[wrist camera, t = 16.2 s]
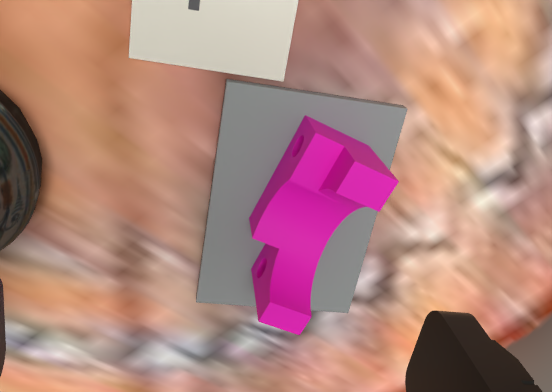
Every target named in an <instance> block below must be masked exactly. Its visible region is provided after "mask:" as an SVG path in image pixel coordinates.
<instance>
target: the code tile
mask: <svg viewBox="0 0 552 392" xmlns="http://www.w3.org/2000/svg"><path fill="white" fill-rule="evenodd" d="M297 5H298V0H132V12H131V28H130V45H129V58H133V59H140V60H146V61H153V62H159V63H166V64H172V65H179V66H185V67H192V68H198V69H205V70H211V71H218V72H224V73H231V74H237V75H244V76H250V77H257V78H264V79H270V80H277V81H284V76H285V70H286V65H287V59H288V54H289V49H290V43H291V38H292V32H293V27H294V21H295V16H296V11H297Z"/></svg>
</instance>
